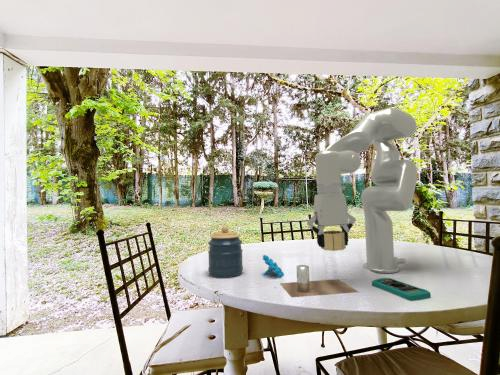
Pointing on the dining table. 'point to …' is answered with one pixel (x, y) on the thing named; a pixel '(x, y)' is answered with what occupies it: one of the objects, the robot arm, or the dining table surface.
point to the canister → (225, 254)
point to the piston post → (303, 279)
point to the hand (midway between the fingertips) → (333, 245)
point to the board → (319, 288)
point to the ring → (334, 240)
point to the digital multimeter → (401, 289)
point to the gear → (272, 266)
